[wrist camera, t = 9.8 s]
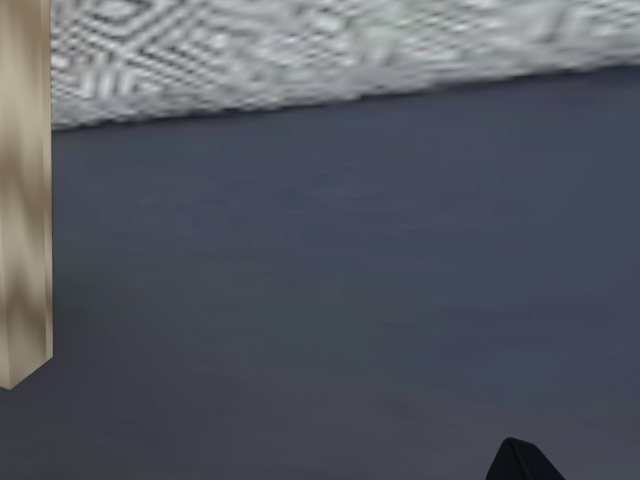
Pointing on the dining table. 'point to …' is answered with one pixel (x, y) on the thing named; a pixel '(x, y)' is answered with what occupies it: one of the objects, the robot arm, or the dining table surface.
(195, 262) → the dining table surface
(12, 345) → the wooden compartment tray
